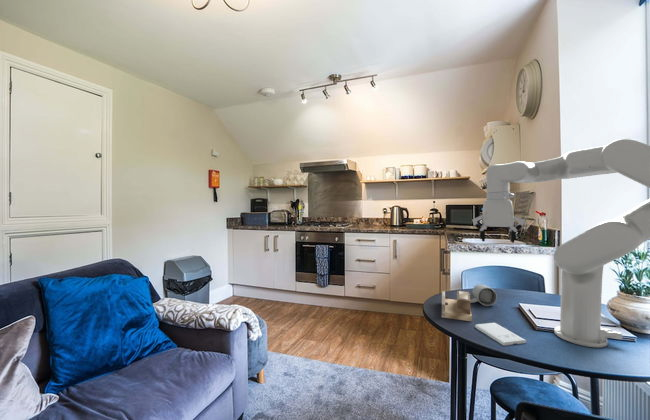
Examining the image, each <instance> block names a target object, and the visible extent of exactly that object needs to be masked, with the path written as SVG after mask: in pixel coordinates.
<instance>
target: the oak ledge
mask: <svg viewBox="0 0 650 420" xmlns="http://www.w3.org/2000/svg"><path fill="white" fill-rule="evenodd" d="M441 318H443V319H444V318H446V319H452V320H458V321H467V322H472V321H473V315H472V311H471V309H470V314H464V313H457V299H452V298H449V297H448V295H446V291H445V290H442V291H441Z"/></svg>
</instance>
